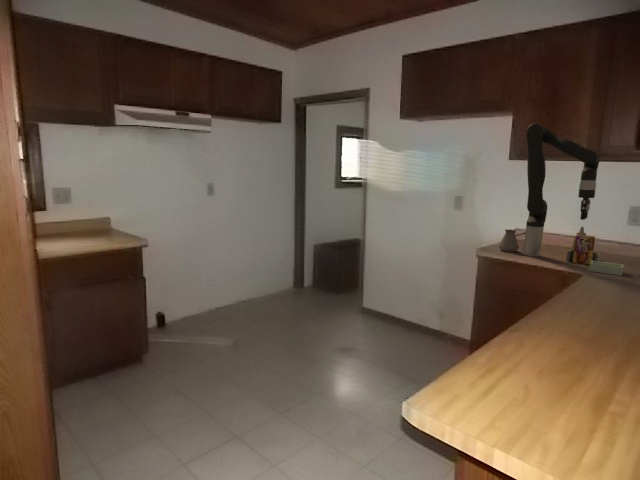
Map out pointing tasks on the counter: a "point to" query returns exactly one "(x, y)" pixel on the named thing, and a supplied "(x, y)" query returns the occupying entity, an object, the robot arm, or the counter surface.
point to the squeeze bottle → (578, 234)
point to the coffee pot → (509, 241)
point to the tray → (606, 267)
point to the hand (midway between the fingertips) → (583, 218)
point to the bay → (571, 255)
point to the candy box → (584, 249)
